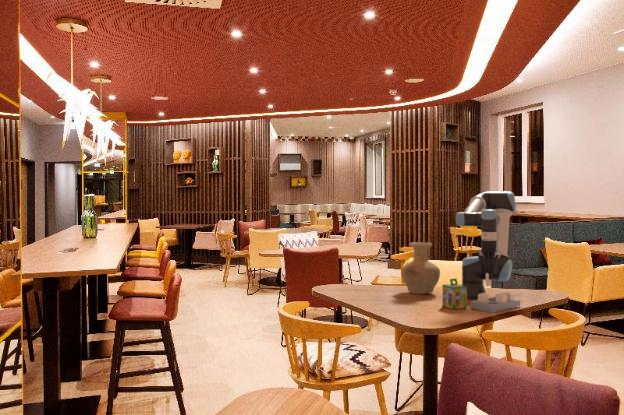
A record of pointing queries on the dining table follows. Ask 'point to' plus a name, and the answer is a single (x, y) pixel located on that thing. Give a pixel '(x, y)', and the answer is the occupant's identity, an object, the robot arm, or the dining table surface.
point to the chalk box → (454, 295)
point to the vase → (420, 271)
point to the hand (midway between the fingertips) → (488, 285)
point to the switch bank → (494, 305)
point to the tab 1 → (483, 298)
